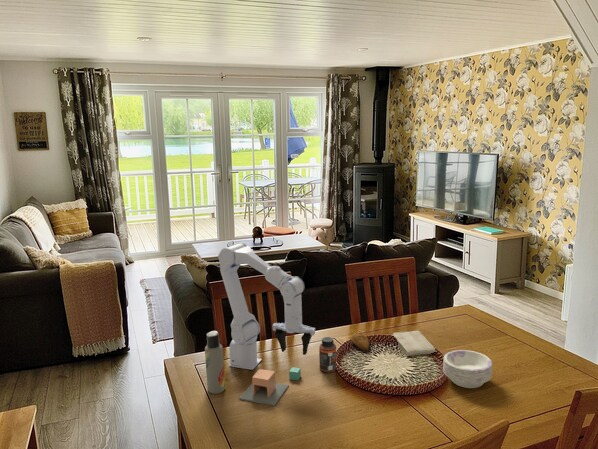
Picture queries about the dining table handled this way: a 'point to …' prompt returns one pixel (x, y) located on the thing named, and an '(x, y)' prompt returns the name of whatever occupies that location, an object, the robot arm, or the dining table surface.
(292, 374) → the teal cube
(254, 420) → the dining table surface
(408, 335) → the washcloth
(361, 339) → the croissant
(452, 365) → the paper bowls
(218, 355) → the lotion bottle
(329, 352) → the supplement bottle
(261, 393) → the slate mat
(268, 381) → the terracotta cover
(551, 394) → the dining table surface
